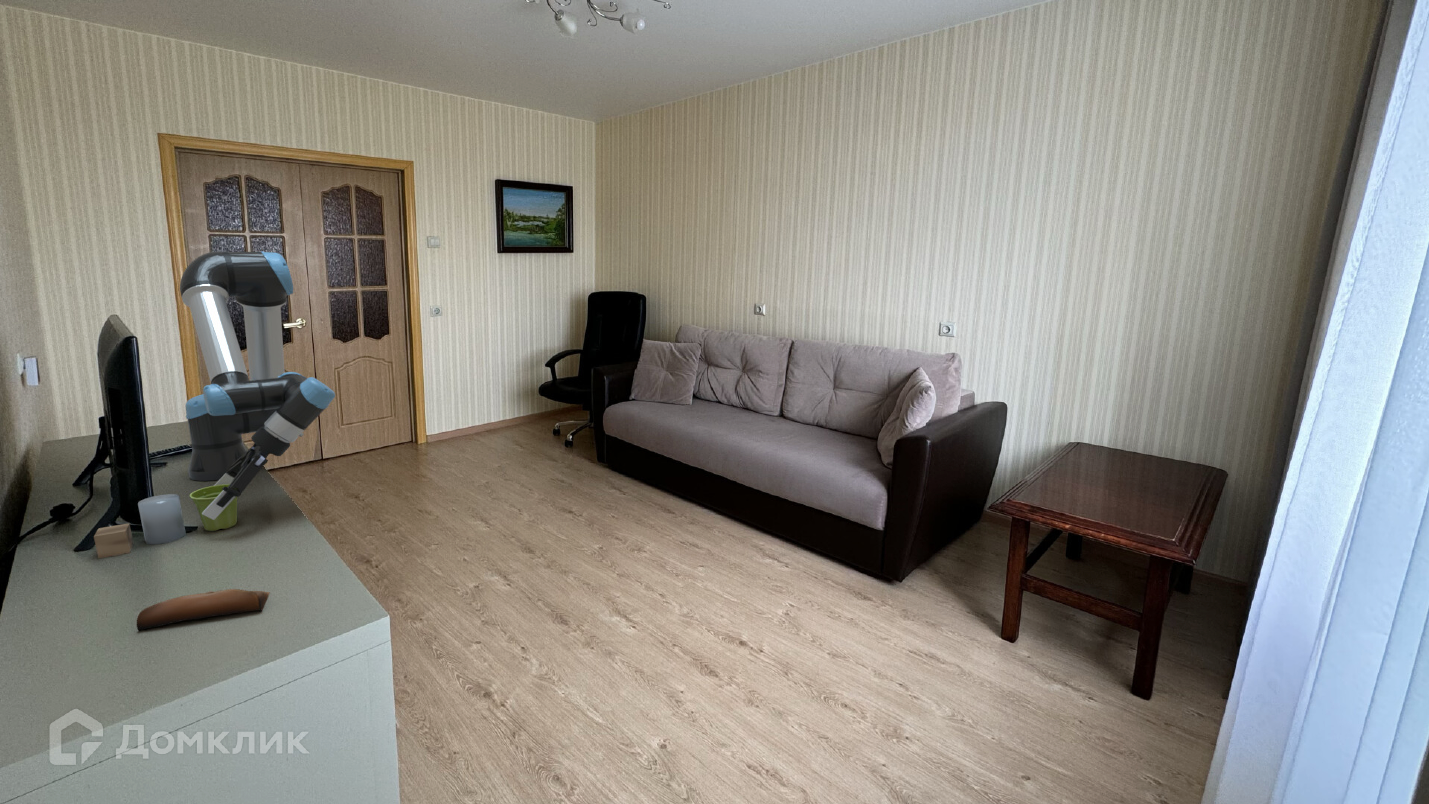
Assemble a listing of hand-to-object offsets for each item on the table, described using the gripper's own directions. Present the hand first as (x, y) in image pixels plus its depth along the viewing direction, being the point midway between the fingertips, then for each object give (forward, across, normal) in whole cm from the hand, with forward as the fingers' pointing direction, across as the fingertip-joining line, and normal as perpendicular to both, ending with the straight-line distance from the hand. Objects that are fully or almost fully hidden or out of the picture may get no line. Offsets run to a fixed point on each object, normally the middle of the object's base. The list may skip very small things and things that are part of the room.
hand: (209, 507), depth 152 cm
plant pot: (+3, 0, -5) cm, 6 cm away
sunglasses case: (+4, -45, -5) cm, 45 cm away
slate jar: (+10, -1, +2) cm, 10 cm away
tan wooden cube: (+15, -4, +8) cm, 18 cm away
